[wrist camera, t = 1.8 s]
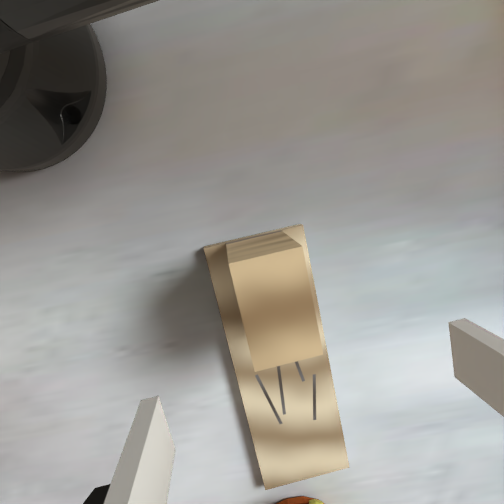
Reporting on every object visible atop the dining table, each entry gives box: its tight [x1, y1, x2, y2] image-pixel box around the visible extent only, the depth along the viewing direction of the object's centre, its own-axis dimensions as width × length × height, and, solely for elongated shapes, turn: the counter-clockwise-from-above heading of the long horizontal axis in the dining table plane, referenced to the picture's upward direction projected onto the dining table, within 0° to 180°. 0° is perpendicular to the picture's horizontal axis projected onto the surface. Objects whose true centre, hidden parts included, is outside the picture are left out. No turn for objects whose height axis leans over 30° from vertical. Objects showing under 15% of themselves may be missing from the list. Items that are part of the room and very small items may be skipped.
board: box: [204, 224, 349, 490], centre depth 34 cm, size 26×9×1 cm, turn 12°
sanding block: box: [226, 230, 323, 372], centre depth 28 cm, size 8×5×8 cm, turn 12°
